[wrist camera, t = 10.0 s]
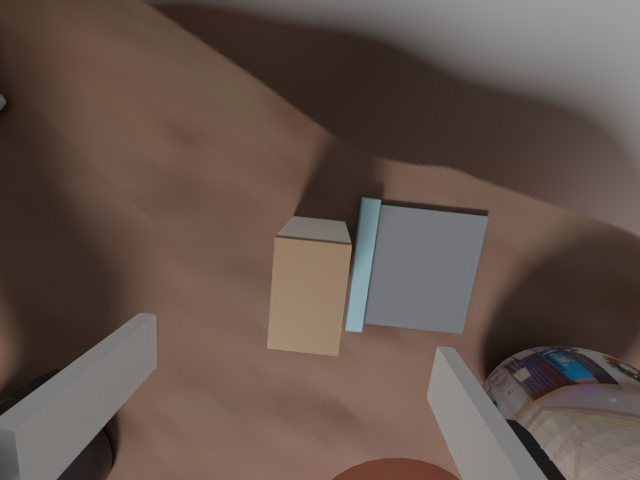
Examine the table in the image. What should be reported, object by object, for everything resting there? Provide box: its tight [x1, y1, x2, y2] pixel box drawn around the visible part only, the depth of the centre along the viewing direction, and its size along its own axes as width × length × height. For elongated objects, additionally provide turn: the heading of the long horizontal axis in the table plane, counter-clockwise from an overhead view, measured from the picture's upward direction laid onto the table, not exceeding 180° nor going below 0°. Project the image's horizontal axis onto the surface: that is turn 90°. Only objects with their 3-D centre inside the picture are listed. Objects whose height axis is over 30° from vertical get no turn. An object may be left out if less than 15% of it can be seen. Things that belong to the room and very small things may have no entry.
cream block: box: [267, 216, 352, 356], centre depth 26 cm, size 5×8×10 cm, turn 174°
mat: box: [363, 205, 489, 334], centre depth 30 cm, size 10×12×1 cm
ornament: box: [482, 345, 640, 480], centre depth 25 cm, size 15×15×15 cm
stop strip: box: [345, 197, 381, 332], centre depth 30 cm, size 2×13×2 cm, turn 175°
